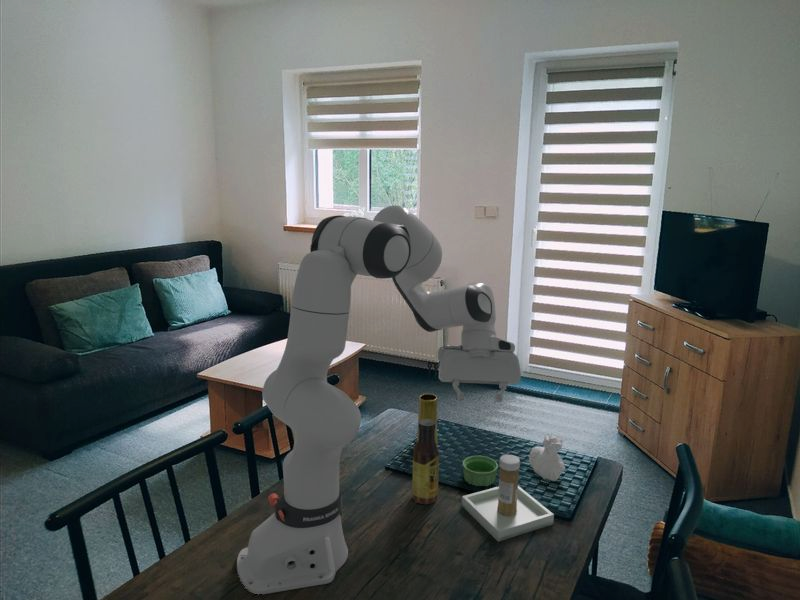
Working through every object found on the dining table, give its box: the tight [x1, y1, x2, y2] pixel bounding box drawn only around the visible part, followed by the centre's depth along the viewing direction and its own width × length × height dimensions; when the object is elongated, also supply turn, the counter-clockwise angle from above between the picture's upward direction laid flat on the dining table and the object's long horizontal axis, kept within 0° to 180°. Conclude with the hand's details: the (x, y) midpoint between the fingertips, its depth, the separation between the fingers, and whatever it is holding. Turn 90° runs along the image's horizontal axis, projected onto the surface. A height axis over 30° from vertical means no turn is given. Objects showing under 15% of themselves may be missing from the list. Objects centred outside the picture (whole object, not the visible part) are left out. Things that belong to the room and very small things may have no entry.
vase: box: [416, 393, 439, 445], centre depth 171 cm, size 6×6×14 cm
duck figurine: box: [528, 434, 566, 482], centre depth 156 cm, size 12×8×11 cm
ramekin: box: [462, 455, 499, 487], centre depth 153 cm, size 9×9×4 cm
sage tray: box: [461, 485, 555, 542], centre depth 138 cm, size 15×15×2 cm
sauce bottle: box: [411, 419, 440, 505], centre depth 143 cm, size 7×6×20 cm
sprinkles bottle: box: [497, 454, 521, 516], centre depth 137 cm, size 5×5×14 cm
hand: (479, 400), depth 146 cm, fingers open, 8 cm apart
